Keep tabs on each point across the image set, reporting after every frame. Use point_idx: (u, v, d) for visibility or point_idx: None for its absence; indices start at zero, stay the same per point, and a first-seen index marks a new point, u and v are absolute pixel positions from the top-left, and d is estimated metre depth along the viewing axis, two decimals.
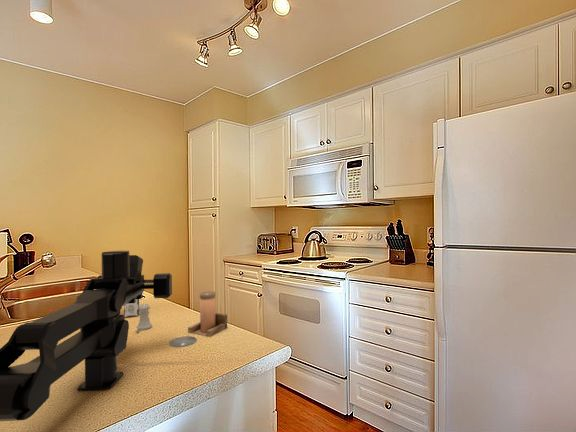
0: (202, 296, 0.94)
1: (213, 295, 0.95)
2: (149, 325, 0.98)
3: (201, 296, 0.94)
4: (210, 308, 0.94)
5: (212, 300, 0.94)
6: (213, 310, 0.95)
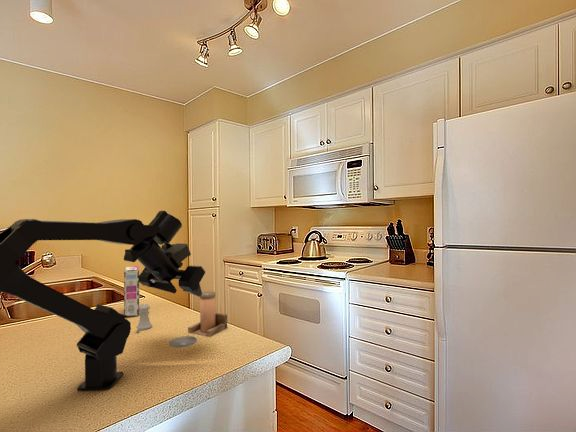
0: (202, 296, 0.94)
1: (213, 295, 0.95)
2: (149, 325, 0.98)
3: (201, 296, 0.94)
4: (210, 308, 0.94)
5: (212, 300, 0.94)
6: (213, 310, 0.95)
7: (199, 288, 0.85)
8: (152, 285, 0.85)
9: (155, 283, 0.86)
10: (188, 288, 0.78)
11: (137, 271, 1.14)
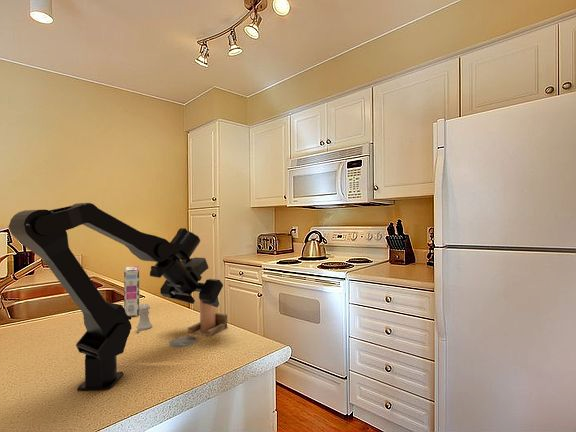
0: None
1: None
2: (149, 325, 0.98)
3: None
4: (210, 308, 0.94)
5: None
6: (213, 310, 0.95)
7: (217, 299, 0.91)
8: (173, 297, 0.92)
9: (175, 295, 0.92)
10: (208, 300, 0.84)
11: (137, 271, 1.14)
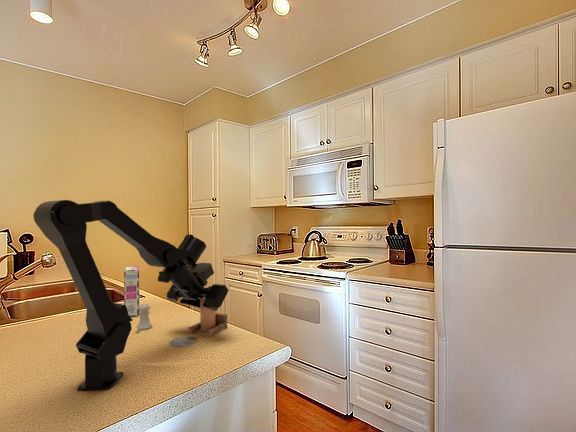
0: None
1: None
2: (149, 325, 0.98)
3: None
4: None
5: None
6: (213, 310, 0.95)
7: None
8: (185, 302, 0.93)
9: (187, 300, 0.93)
10: (214, 305, 0.86)
11: (137, 271, 1.14)
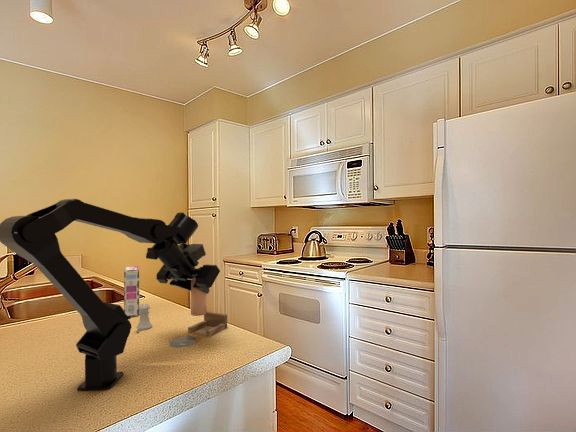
0: None
1: None
2: (149, 325, 0.98)
3: None
4: None
5: None
6: None
7: None
8: (175, 283, 0.89)
9: (178, 281, 0.90)
10: (204, 285, 0.83)
11: (137, 271, 1.14)
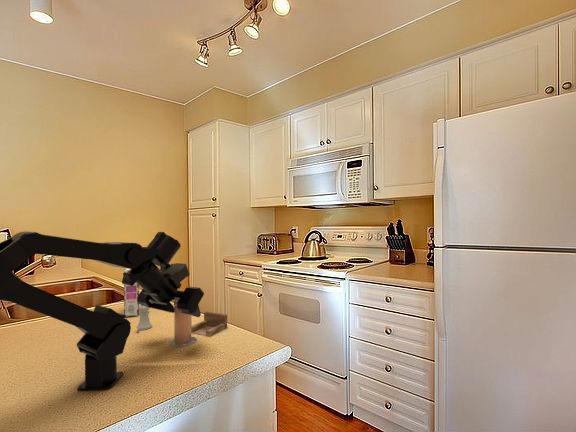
0: (176, 304, 0.85)
1: None
2: (149, 325, 0.98)
3: (175, 304, 0.85)
4: (185, 317, 0.85)
5: None
6: (188, 319, 0.86)
7: (198, 309, 0.84)
8: (150, 305, 0.85)
9: (153, 303, 0.85)
10: (186, 310, 0.77)
11: None
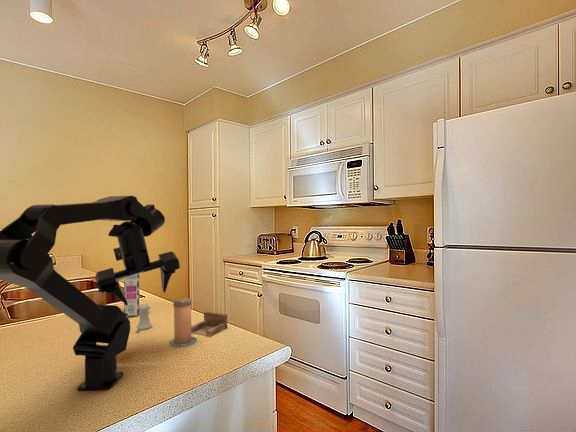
0: (176, 304, 0.85)
1: (188, 302, 0.86)
2: (149, 325, 0.98)
3: (175, 304, 0.85)
4: (184, 317, 0.85)
5: (186, 308, 0.85)
6: (188, 319, 0.86)
7: None
8: (116, 288, 0.77)
9: (118, 286, 0.77)
10: (175, 265, 0.82)
11: None
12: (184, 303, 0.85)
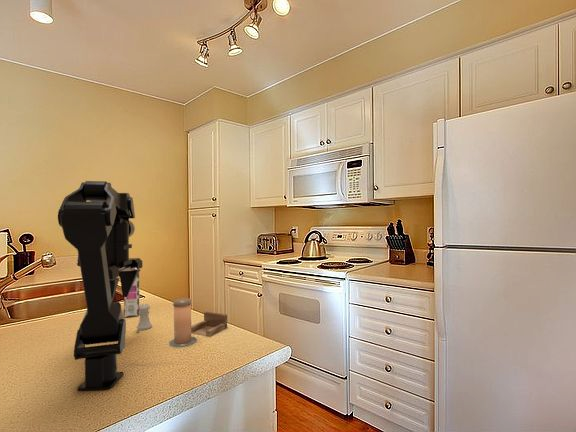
0: (176, 304, 0.85)
1: (188, 303, 0.86)
2: (149, 325, 0.98)
3: (174, 304, 0.85)
4: (184, 317, 0.85)
5: (186, 308, 0.85)
6: (188, 319, 0.86)
7: None
8: (116, 278, 0.78)
9: None
10: (141, 263, 0.92)
11: None
12: (184, 303, 0.85)
